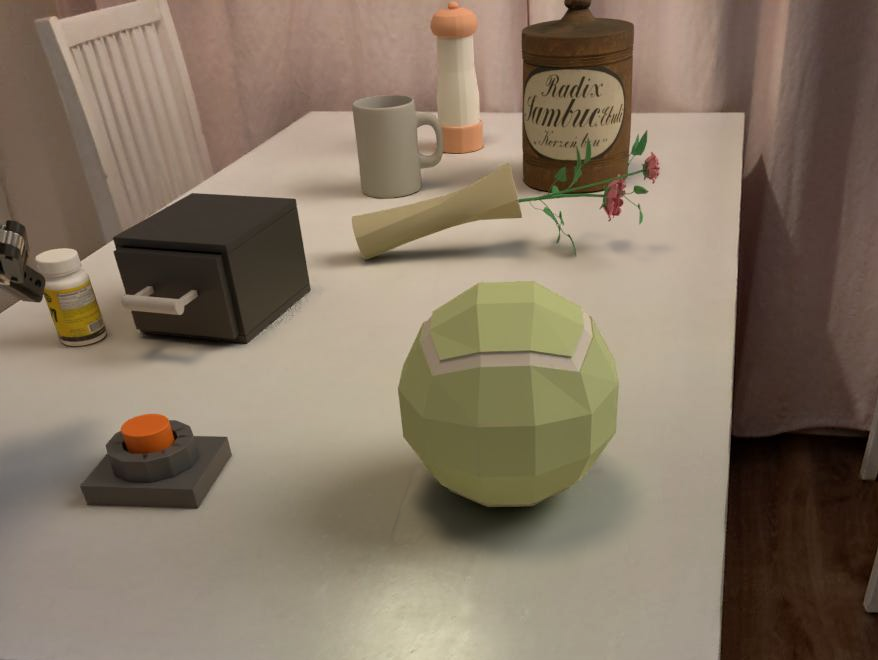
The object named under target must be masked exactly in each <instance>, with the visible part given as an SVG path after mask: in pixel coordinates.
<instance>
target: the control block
mask: <svg viewBox="0 0 878 660" xmlns="http://www.w3.org/2000/svg"><path fill="white" fill-rule="evenodd" d="M168 420H169V423H170V426H171V429H172V433H173V436H174V443H173V444H172V445H171V446H169V447H167V448H165V449H163V450H161V451H157V452H152V453H148V454H132V453H130V452H128V450H127V447H126V444H125V441H124V439H123V436H122V433H121V430H119V431H118V432H115V433H114V434H113V435H112V437H111V438H110V439H109V440H108V441H107V443H106V444H105V449H106V454H105V456H104V457H103V458H102V459H101V460H100V462H99V463H97V465H96V466H95V467H94V468H93V470H92V471H91V472H90V473H89V475H88V476H87V477H86V478H85V479H84V480H83V482H81V484H80V486H79V487H80V490H81V493H82V496H83V498H84V500H85V504H86V505H87V506H111V507H112V506H114V507H115V506H116V507H117V506H118V507H147V508H149V507H150V508H172V509H173V508H174V509H176V508H177V509H179V508H180V509H199V507H200V506H201V504H202V503H203V501H204V499H205V498H206V496H207V495H208V493H209V492H210V490H211V488H212V487H213V486H214V484H215V483H216V481H217V479H218V477H219V476H220V474H221V473H222V472H223V470H224V468H225V467H226V465H227V463H228V462H229V461H230V459H231V457H232V456H233V455H232V450H231V446H230V442H229V438H228V436H213V435H212V436H211V435H194V432H193V430H192V428H191V426H190V425H188V424H186V423H184V422H181V421H180V420H176V419H168Z"/></svg>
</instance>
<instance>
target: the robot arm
mask: <svg viewBox="0 0 878 660" xmlns="http://www.w3.org/2000/svg"><path fill="white" fill-rule="evenodd" d="M30 251H31V250H30V246H29V239H28V235H27V229H26V226H25V225H23V224H22V223H20V222H19V221H17V220H11V219H9V220H6V222H5V223H4V224H3V223H1V224H0V289H1V290H3V291H4V292H6V293H8V294H10V295H11V296H13V297H15V298H17V299H18V300H20V301H22V302H28V303H39V304H40V303H41V302H42V301H43V299H44V295H43V293H44V288H45V283H46V281H45V278H44V276H43V275H41V274H40V272H39V271H38V270H35V269H33V268H32V267H30V266H29V265H28V264H27V263H28V258H29V256H30Z"/></svg>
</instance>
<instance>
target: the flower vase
mask: <svg viewBox="0 0 878 660" xmlns="http://www.w3.org/2000/svg"><path fill="white" fill-rule="evenodd" d="M647 143H648V129H646V130H645V132H644V133H643V135H642V136H641V138H640V134H639V133H638V134H637V136H636V138H635V141H634V143H633V145H632V147H631V150H630V152H629V157H628V159H629V162H628V168H627V171H628V174H626V175H623V176H620V175H617V177H616V178H613V179H609V180H606V181H602V182H598V183H595V184H591V185H586V186H582V187H578V188H573V189H569V190H565V191H560V192H559V190H558V188H557V187H556V186H552V185H553V184H554V183H555V182H556V181H557V180H559V181H566V173H565V172H566V166H565V167H563V168H562V169H560V170H559V171H558V173H557V174H556V176H555V178H556V179H557V180H556V181H555V182H554V183H553V184H552V185H551V187H552V192H549V191H550V189H551V187H550V189H549V191H547V192H548V193H546V194H543V195H539V196H534V197H525V198H519V196H518V192H517V187H516V183H515V181H514V180H515V179H514V175H513V171H512V165H511V163H510V162H507V163H505V164H503V165H502V166H500V167H498V168H497V169H495V170H493V171H492V172H490V173H489V174H487V175H486V176H483V177H482V178H480V179H479V180H477V181H476V182H474V183H472V184H470V185H468V186H466V187H463V188H460V189H459V190H455V191H453V192H450V193H447V194H445V195H440V196H437V197H433V198H429V199H426V200H421V201H418V202H414V203H410V204H406V205H401V206H396V207H393V208H388V209H387V208H386V209H384V210H379V211H373V212H368V213H363V214H357V215H353V216H351V225H352V230H353V235H354V239H355V241H356V245H357V247H358V250H359V252H360V255H361V256H362V257H361V258H363V260H365V261H368V260H370V259H373V258H375V257H377V256H379V255H382V254H385V253H386V252H389V251H391V250H394V249H396V248H398V247H400V246H403V245H406V244H408V243H411V242H414V241H417V240H420V239H422V238H425V237H427V236H430V235H434V234H436V233H439V232H441V231H444V230H448V229H450V228H453V227H457V226H460V225H464V224H468V223H473V222H479V221H488V220H489V221H490V220H505V219H506V220H508V219H523V215H522V209H521V204H520V203H523V202H529V204H530V206H531V207H532V208H534V209H535V210H538V207H537V208H536V207H534V205H532V203H531V202H534V201H535V202H536V201H540V202H541V203H542V204H543V205H544V206H545V207H543V209H541V208H539V210H540V211H542V212H543V213H544V214H545V215H547V216H548V217H550V218H551V219H552V220H553V222H554V223H555V225H556V226H557V228H558V236H557V239H556V242H555V246H557V245H558V244H559V243H560V240H561V232H562V233H563V235H565V236H567V237H568V238H569V240H570V241H571V244H572V247H573V250H574V251H573V252H574V255H575V256H577V249H576V246H575V242H574V240H573V238H572V236H571V235H570V234H568V233H567V234H566V233H565V232H564V230H563V229H562V226H564V225H565V222H564V220H563V213H562V211H561V210H560V211H559V213H558V215H557V214H556V213H554V212H553V211H552V210H551V209H550V208H549V207H548V205H547V204H546V203H545V202H543V201H544V200H553V199H562V198H580V197H583V198H584V197H585V198H587V197H588V198H602V204H601V206H600V207H599V210H601V209H603V210H604V212H605V214H606V215H607V217H608V221H607V222H608V223H609V222H611V221H612V219H614V218H615V217H620V215H621V213H622V208H621V207H623V205H624V203H625V202H624V200H623V199H622V198H625V199H626V200H627V201H628V202H630V203H631V204H632V205H634V206H635V207H637V209H638V210H639V219H638V221H639V222H638V224H639V226H640V225H641V224H642V223H643V220H644V215H643V212H642V209H641V204H640V203H638V204H635V203H634V202H633V201H631V200H630V199H629V198H628V197H626V195H630V194H634V193H635V194H636V195H646V194H647V193H649V190H648V189H646V188H645V187H643V186H641V185H634V186H633V191H632V192H626V190H625V189H626V187H627V184H626V183H625V181H624V182H623V178H624V177H627V178H628V177H631V176H634V175H638V174H640V173H642V175H643V176H644V177H643V181H645V180H646V179H648V180H650V181H652V185H653V184H655V183H656V180H657V178H658V177H659V175H660V172H659V171H660V167H659V166H660V162H659V158H658V157H657V156H656V154H655V153H654V152H653V151H650V155H649V156H648V157H647V158H645V160H644V162H643V163H641V166H642V169H640V170H637V171H633V172H630V173H629V167H630V164H631V162H632V161H633V160H634V157H636V156H642V155H643V153H644V152H645V151H646V146H647ZM576 150H577V167H575V166H574V179H575V181H576V182H577V180H578V178H579V177H580V176H581V173H582V172H581V170H580V168H581V167H582V166H583V165H584V164H586V163H587V162H589V161H590V158H591V144H590V141H589V138H588V139H587V146H586V156H585V160H584V164H583V165H582V166H581V157H580V153H579V150H578V147H577V146H576ZM631 155H632V157H631V159H630V156H631ZM621 178H622V179H621ZM574 179H573V181H574ZM620 179H621V182H620ZM575 181H574V182H575ZM611 181H612V182H611ZM576 182H575V184H576ZM607 182H608V183H609V182H611V183H609V184H608V187H606V186H604V191H603V194H602V193H601V194H600V193H566V192H570V191H575V190H579V189H584V188H588V187H592V186H596V185H600V184H604V183H607ZM572 183H573V182H572ZM572 183H571V184H572ZM573 184H574V183H573ZM573 184H572V185H573ZM572 185H570V186H569V187H568V188H570V187H571V186H572ZM568 188H567V189H568ZM555 216H556V217H555ZM611 216H612V217H611ZM557 218H558V219H559V220H560V223H559V222H558V220H557ZM561 225H562V226H561Z"/></svg>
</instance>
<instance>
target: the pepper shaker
mask: <svg viewBox="0 0 878 660" xmlns="http://www.w3.org/2000/svg"><path fill="white" fill-rule="evenodd" d="M477 17H478V16H476V14H475V12H474V11H472V10H470V9H468V8H466V7H459V3H458V2H457V1H455V0H454V1H450V2H448V3H447V7H445V8H441V9H439V10H438V11H436V12H435V13H434V14H433V15H432V17H431V20H430V26H429V27H430V31H431V33H432V34H433V35H434V36H436V52H437V69H438V71H437V85H436V98H435V100H436V108H437V109H436V111H437V118H438V120H439V122H440V125H441V128H442V133H443V153H448V154H464V153H472V152H476V151H479V150H481V149H483V148H484V129H483V127H484V126H483V121H482V119H481V117H480V116H481V114H480V111H481V110H480V109H481V107H480V104H481V103H480V92H479V91H480V90H479V86H478V80H477V79H478V78H477V75H476V67H475V50H474V49H475V47H474V34H476V32H477V29H478V25H479V22H478V18H477Z"/></svg>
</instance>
